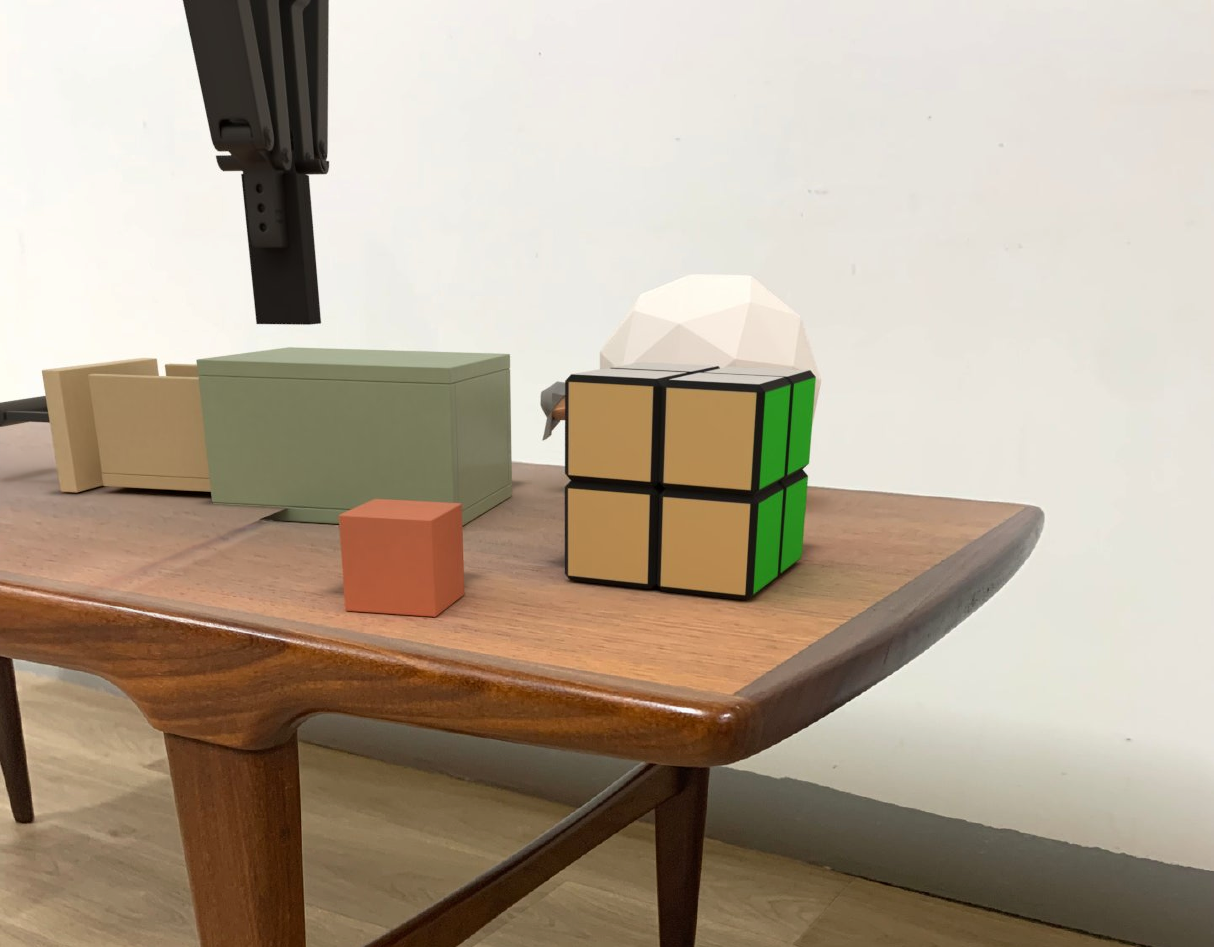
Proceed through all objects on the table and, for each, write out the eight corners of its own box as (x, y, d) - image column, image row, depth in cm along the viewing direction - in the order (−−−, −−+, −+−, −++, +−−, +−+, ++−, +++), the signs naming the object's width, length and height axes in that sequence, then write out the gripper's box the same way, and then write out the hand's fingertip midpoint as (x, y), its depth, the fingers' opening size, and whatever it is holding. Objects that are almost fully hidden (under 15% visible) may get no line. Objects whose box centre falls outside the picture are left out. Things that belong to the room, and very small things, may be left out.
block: (344, 610, 58) (338, 514, 56) (379, 589, 62) (374, 498, 60) (435, 617, 57) (431, 520, 55) (464, 594, 61) (462, 503, 59)
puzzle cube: (633, 544, 72) (638, 361, 68) (803, 562, 69) (818, 369, 65) (561, 581, 64) (561, 374, 60) (750, 603, 60) (764, 384, 56)
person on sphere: (842, 443, 91) (583, 463, 97) (824, 223, 82) (539, 261, 88) (817, 540, 81) (529, 555, 87) (794, 301, 71) (472, 337, 77)
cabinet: (213, 517, 78) (195, 359, 74) (299, 485, 89) (288, 347, 86) (455, 531, 75) (449, 367, 71) (512, 496, 87) (510, 354, 83)
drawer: (-34, 486, 81) (-56, 366, 78) (71, 462, 92) (54, 355, 89) (272, 503, 77) (260, 377, 74) (345, 475, 88) (337, 364, 85)
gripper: (246, -370, 45) (307, 330, 54) (375, -237, 57) (407, 320, 66) (57, -353, 46) (148, 328, 56) (221, -226, 58) (274, 318, 67)
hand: (289, 323), depth 61 cm, fingers closed
